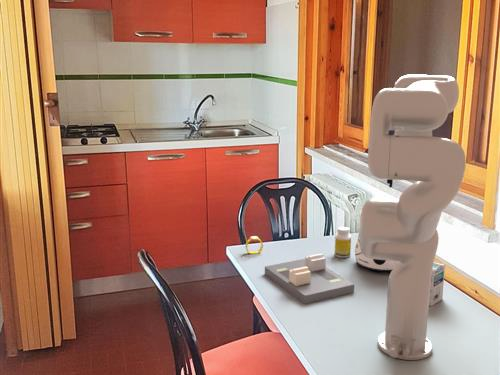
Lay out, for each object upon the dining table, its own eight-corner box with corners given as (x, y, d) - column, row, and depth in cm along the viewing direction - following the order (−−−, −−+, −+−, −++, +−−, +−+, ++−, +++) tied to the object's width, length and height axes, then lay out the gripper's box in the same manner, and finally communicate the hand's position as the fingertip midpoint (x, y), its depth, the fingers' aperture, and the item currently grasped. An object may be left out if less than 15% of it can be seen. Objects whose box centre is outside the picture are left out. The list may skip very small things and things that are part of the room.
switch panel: (354, 292, 165) (354, 284, 164) (304, 303, 158) (305, 295, 157) (309, 264, 186) (310, 257, 185) (264, 273, 178) (264, 266, 178)
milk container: (343, 261, 189) (346, 210, 184) (383, 252, 196) (387, 203, 192) (377, 279, 174) (380, 224, 169) (419, 269, 182) (423, 216, 177)
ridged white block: (325, 268, 176) (325, 255, 175) (312, 271, 173) (312, 258, 172) (318, 264, 179) (318, 251, 178) (305, 267, 177) (305, 254, 176)
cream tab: (310, 282, 165) (311, 269, 164) (296, 286, 163) (296, 272, 162) (303, 278, 169) (303, 264, 168) (289, 281, 166) (289, 267, 165)
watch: (261, 252, 198) (262, 236, 197) (262, 254, 196) (264, 238, 194) (244, 252, 197) (245, 236, 196) (246, 254, 194) (247, 238, 193)
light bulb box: (443, 299, 160) (446, 263, 158) (432, 306, 156) (435, 270, 153) (408, 288, 168) (411, 254, 165) (397, 295, 163) (400, 260, 160)
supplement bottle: (351, 258, 191) (352, 231, 189) (335, 258, 192) (336, 230, 189) (349, 252, 197) (350, 226, 194) (333, 252, 197) (334, 226, 194)
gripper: (378, 124, 143) (375, 188, 148) (450, 126, 139) (444, 193, 143) (380, 120, 150) (376, 182, 155) (448, 122, 146) (442, 186, 150)
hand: (409, 187), depth 149 cm, fingers open, 9 cm apart
